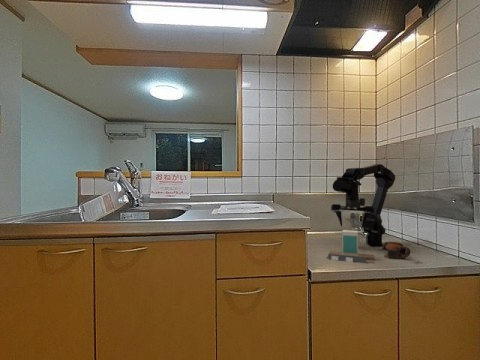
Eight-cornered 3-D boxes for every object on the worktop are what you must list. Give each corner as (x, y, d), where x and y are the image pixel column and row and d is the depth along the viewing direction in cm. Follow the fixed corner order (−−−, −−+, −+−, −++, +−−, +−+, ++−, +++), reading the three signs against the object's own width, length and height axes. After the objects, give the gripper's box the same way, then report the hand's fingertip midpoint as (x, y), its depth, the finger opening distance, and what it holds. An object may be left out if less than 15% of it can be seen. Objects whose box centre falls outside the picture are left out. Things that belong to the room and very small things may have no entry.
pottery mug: (376, 260, 119) (377, 241, 123) (390, 266, 123) (390, 248, 127) (405, 259, 110) (404, 238, 113) (418, 266, 114) (418, 246, 117)
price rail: (328, 261, 117) (328, 253, 117) (365, 264, 111) (365, 257, 111) (328, 261, 116) (328, 254, 116) (365, 265, 110) (365, 258, 110)
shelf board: (330, 253, 129) (330, 251, 129) (373, 257, 121) (373, 255, 121) (326, 260, 117) (326, 258, 117) (374, 265, 110) (374, 263, 110)
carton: (343, 255, 121) (342, 229, 121) (358, 256, 119) (358, 230, 119) (342, 258, 118) (342, 231, 118) (357, 259, 115) (357, 232, 115)
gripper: (333, 190, 129) (332, 225, 127) (377, 192, 125) (377, 228, 123) (330, 193, 140) (330, 225, 137) (371, 195, 136) (371, 228, 133)
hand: (351, 227), depth 132 cm, fingers open, 9 cm apart
